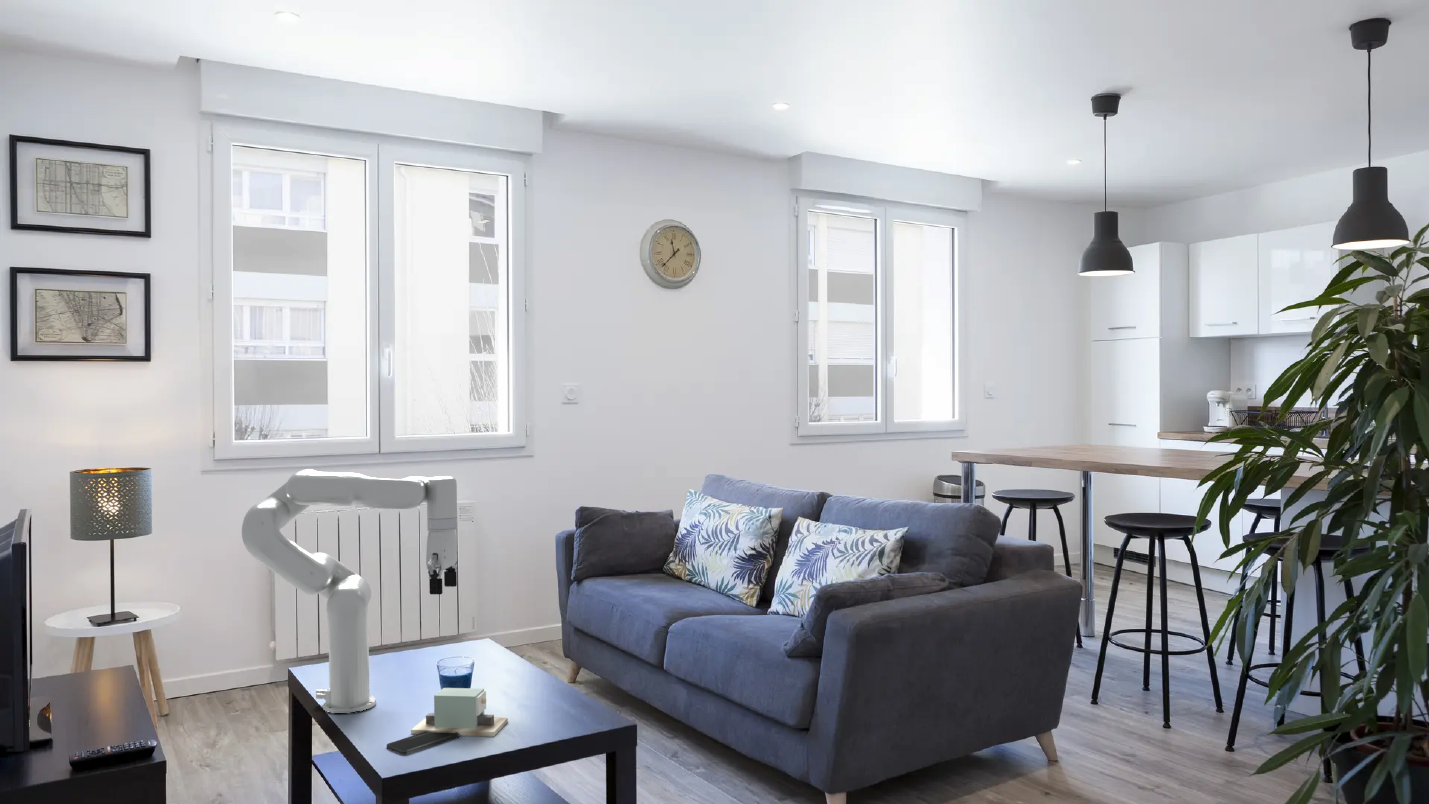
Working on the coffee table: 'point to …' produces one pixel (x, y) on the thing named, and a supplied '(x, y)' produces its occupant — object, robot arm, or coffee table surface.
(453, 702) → the mint green box
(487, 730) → the board
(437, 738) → the phone
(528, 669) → the coffee table surface
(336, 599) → the robot arm
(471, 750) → the coffee table surface
